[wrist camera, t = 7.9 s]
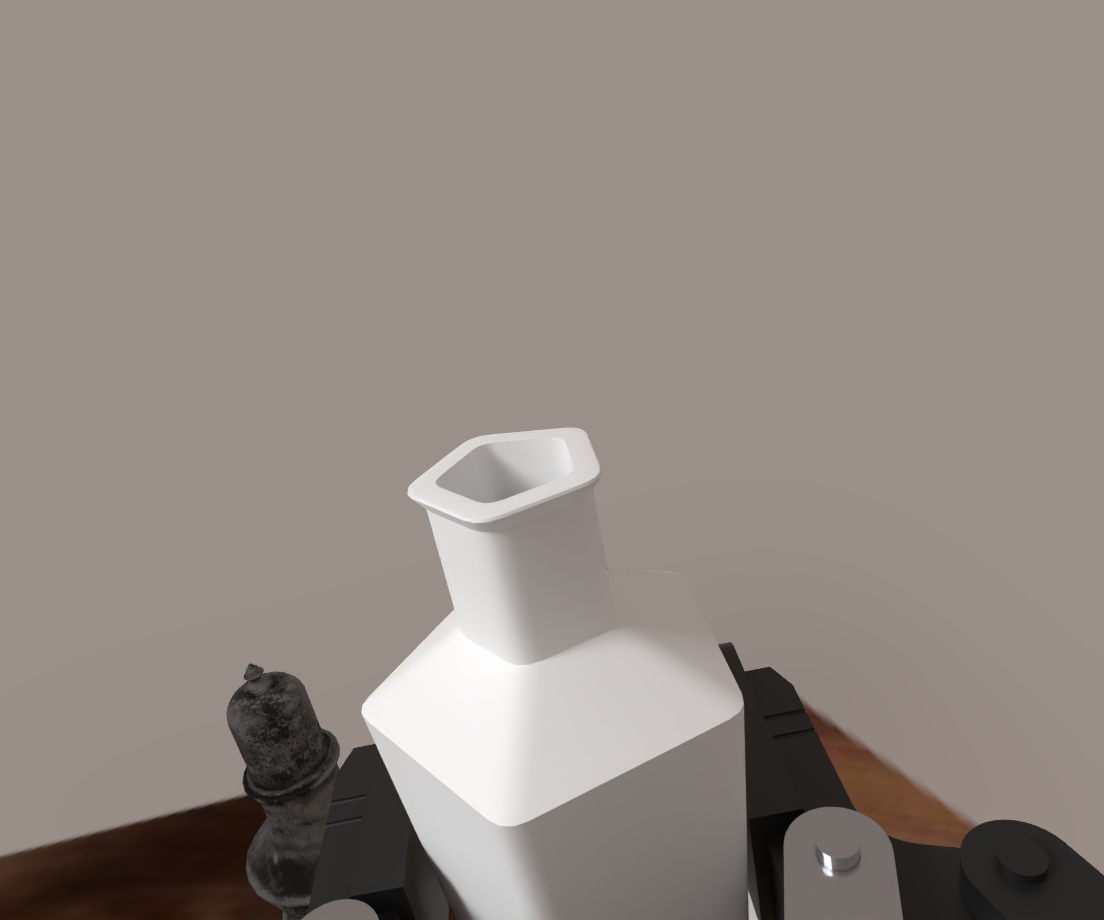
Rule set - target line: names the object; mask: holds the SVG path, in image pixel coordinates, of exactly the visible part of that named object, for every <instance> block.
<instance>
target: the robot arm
mask: <svg viewBox="0 0 1104 920" xmlns="http://www.w3.org/2000/svg"><path fill="white" fill-rule="evenodd" d="M718 646H719V648H720V650H721V652H722V654H723V656H724V658H725V660H726V662H727V664H728V666H729V668H730V670H731V672H732V674H733V676H734V679H735V681H736V683H737V685H738V687H739V689H740V691H741V693H742V697H743V702H744V732H745V775H746V818H747V862H748V891H749V894H750V897H751V900H752V903H753V906H754V910H755V913H756V916H757V919H758V920H1104V876H1103V874H1101V873H1100V872H1099V871H1098V870H1097V869H1095V868H1094V867H1093V866H1092V865H1091V864H1090V863H1088V862H1087V861H1086V860H1085V859H1084V858H1082V857H1081V856H1080V855H1079V854H1078V853H1077V852H1075V851H1074V850H1073V849H1072V848H1071V847H1069V846H1068V845H1067V844H1066V843H1065V842H1063V841H1062V840H1061V839H1059V838H1058V837H1057V836H1055V835H1053V834H1052V833H1050V832H1048V831H1047V830H1044V829H1042V828H1040V827H1038V826H1035V825H1032V824H1029V823H1025V822H1020V821H1015V820H994V821H989V822H985V823H983V824H980V825H978V826H976V827H975V828H973V829H972V830H971V831H970V832H969V833H968V834H967V835H966V836H965V838H964V839H963V841H962V844H961V848H954V847H944V846H933V845H923V844H915V843H909V842H905V841H901V840H898V839H895V838H893V837H890V836H888V835H886V833H885V832H884V830H883V829H882V828H881V827H880V826H879V825H878V824H877V823H875V822H874V821H873V820H871V819H870V818H869V817H867V816H865V815H863V814H861V813H859V812H857V811H856V809H855V808H854V806H853V804H852V803H851V801H850V799H849V797H848V795H847V793H846V791H845V789H844V787H843V785H842V783H841V781H840V779H839V777H838V775H837V773H836V771H835V769H834V767H833V765H832V763H831V761H830V759H829V757H828V755H827V753H826V751H825V749H824V747H823V745H822V743H821V741H820V739H819V737H818V735H817V733H815V730H814V727H813V725H812V723H811V721H810V719H809V717H808V715H807V713H805V709H804V707H803V705H802V703H801V701H800V699H799V697H798V695H797V693H796V691H795V689H794V687H793V685H792V684H791V683H790V682H788V681H787V680H786V679H784V678H783V677H782V676H781V675H780V674H778V673H777V672H776V671H775V670H773V669H772V668H771V667H766V668H761V669H756V670H751V671H746V672H745V671H744V669H743V667H742V664H741V662H740V660H739V658H738V655H737V653H736V650H735V648H734V646H733V644H732V643H731V642H729V643H724V644H719V645H718ZM331 804H332V805H331V806H330V808H329V813H328V817H327V822H326V824H327V828H326V829H325V831H324V836H323V841H322V846H321V850H320V855H319V860H318V864H317V869H316V874H315V879H314V883H313V888H312V893H311V897H310V902H309V907H308V911H307V914H306V916H305V917H304V918H302V919H301V920H448V915H449V903H448V901H447V898H446V896H445V894H444V892H443V890H442V888H441V885H440V883H439V881H438V879H437V877H436V875H435V872H434V870H433V868H432V866H431V864H430V861H429V859H428V857H427V855H426V853H425V851H424V848H423V846H422V844H421V842H420V840H419V838H418V835H417V833H416V831H415V829H414V827H413V824H412V822H411V820H410V818H409V816H408V814H407V811H406V809H405V807H404V805H403V803H402V801H401V798H400V796H399V794H398V792H397V790H396V787H395V785H394V783H393V781H392V779H391V777H390V774H389V772H388V770H387V768H386V766H385V764H384V761H383V759H382V757H381V755H380V753H379V750H378V748H377V746H376V744H373V745H368V746H363V747H357V748H354V749H353V751H352V752H351V753H350V755H349V756H348V758H347V759H346V761H345V762H344V764H343V765H342V767H341V768H340V770H339V771H338V773H337V775H336V780H335V784H334V789H333V794H332V798H331Z"/></svg>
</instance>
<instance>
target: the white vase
mask: <svg viewBox="0 0 1104 920" xmlns="http://www.w3.org/2000/svg"><path fill="white" fill-rule="evenodd" d="M601 475H602V468H601V466H600V463H599V461H598V458H597V456H596V454H595V451H594V448H593V446H592V444H591V441H590V439H589V436H588V435H587V434H586V433H585V432H584V431H583V430H581V429H578V428H559V429H558V428H557V429H546V430H535V431H524V432H513V433H503V434H492V435H485V436H479V437H476V438H473V439H470V440H468V441H466V442H465V443H463V444H462V445H460V446H459V447H457V448H456V449H455V450H454V451H452V452H451V453H450V454H448V455H447V456H446V457H445V458H443V459H442V460H441V461H439V462H438V463H437V464H435V465H434V466H433V467H432V468H431V469H429V470H428V471H426V472H425V473H424V474H423V475H421V476H420V477H419V478H417V479H416V480H415V481H414V482H413V483H412V484H411V485H410V486H409V488H408V496H409V497H410V498H411V499H413V500H414V501H415V502H417V503H418V504H420V505H421V506H423V507H424V508H426V509H427V513H428V516H429V520H430V523H431V527H432V530H433V534H434V538H435V541H436V545H437V548H438V552H439V555H440V559H441V562H442V566H443V570H444V573H445V577H446V580H447V584H448V587H449V591H450V595H451V598H452V602H453V605H454V610H453V611H452V612H451V613H450V614H449V615H448V616H447V617H446V618H445V619H444V620H443V621H442V622H441V623H440V624H439V625H438V626H437V627H436V628H435V629H434V630H433V632H432V633H430V635H429V636H428V637H427V638H426V639H425V640H424V641H423V642H422V643H421V644H420V645H419V646H418V647H417V648H416V649H415V650H414V651H413V652H412V653H411V654H410V655H409V656H408V657H407V658H406V659H405V660H404V661H403V662H402V663H401V664H400V665H399V666H398V667H397V668H396V670H394V671H393V672H392V673H391V675H389V677H388V678H387V679H386V680H385V681H384V682H383V683H382V684H381V685H380V686H379V687H378V688H377V689H376V690H375V691H374V692H373V693H372V694H371V695H370V696H369V697H368V699H367V700H366V701H365V703H364V704H363V705H362V716H363V718H364V720H365V722H366V724H367V727H368V729H369V731H370V733H371V735H372V737H373V740H374V742H375V744H376V746H377V748H378V750H379V753H380V755H381V757H382V759H383V761H384V764H385V766H386V768H387V770H388V772H389V774H390V777H391V779H392V781H393V783H394V785H395V787H396V790H397V792H398V794H399V796H400V798H401V801H402V803H403V805H404V807H405V809H406V811H407V814H408V816H409V818H410V820H411V822H412V824H413V827H414V829H415V831H416V833H417V835H418V838H419V840H420V842H421V844H422V846H423V848H424V851H425V853H426V855H427V857H428V859H429V861H430V864H431V866H432V868H433V870H434V872H435V875H436V877H437V879H438V881H439V883H440V885H441V888H442V890H443V892H444V894H445V896H446V898H447V901H448V903H449V905H450V907H451V909H452V912H453V914H454V916H455V918H456V920H749V905H748V862H747V818H746V775H745V732H744V702H743V697H742V693H741V691H740V689H739V687H738V685H737V683H736V681H735V679H734V676H733V674H732V672H731V670H730V668H729V666H728V664H727V662H726V660H725V658H724V656H723V654H722V652H721V650H720V648H719V646H718V644H717V642H716V640H715V638H714V636H713V634H712V631H711V630H710V627H709V626H708V623H707V621H706V619H705V617H704V615H703V613H702V611H701V609H700V607H699V605H698V603H697V601H696V599H695V597H694V595H693V593H692V590H691V589H690V586H689V584H688V583H687V580H686V579H685V578H684V577H683V575H682V574H680V573H677V572H674V571H641V570H639V571H638V570H635V571H634V570H625V571H624V570H621V571H620V570H617V571H616V570H608V569H607V564H606V559H605V554H604V548H603V542H602V537H601V531H600V526H599V521H598V516H597V510H596V504H595V499H594V493H593V488H594V486H595V485H596V483H597V482H598V481H599V479H600V477H601Z"/></svg>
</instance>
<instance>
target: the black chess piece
mask: <svg viewBox="0 0 1104 920" xmlns="http://www.w3.org/2000/svg"><path fill="white" fill-rule="evenodd" d="M263 671H264V670H263V668H261V667H258V666H257V665H253V664H249V665H248V668H247V669H246V673H245V675H244V679H245V680H247V682H246V683H245V684H243V685H242V686H241V687H240V688H239V689H238V690H237V691H236V692H235V693H234V695H233V696H232V698H231V700H230V703H229V705H228V708H227V721H228V725H229V728H230V730H231V732H232V735H233V737H234V739H235V741H236V743H237V746H238V748H239V750H240V752H241V755H242V757H243V759H244V761H245V763H246V766H247V767H246V770H245V772H244V776H243V786H244V789H245V792H246V793H247V794H248V796H249V797H250V798H251V799H253V800H255V801H257V802H259V803H261V805H262V807H263V809H264V811H265V813H266V816H267V819H266V820H265V822H264V823H263V824H262V826H261V827H260V829H259V830H258V831H257V833H256V834H255V836H254V839H253V841H252V843H251V846H250V848H249V850H248V854H247V862H246V872H247V876H248V881H249V884H250V885H251V887H252V888H253V890H254V891H255V892H256V894H257V895H258V896H259V897H261V898H262V899H264V900H266V901H268V902H269V903H271V904H273V905H274V906H276V907H278V908H279V909H281V910H283V918H282V920H301V919H302V918H304V917H305V916H306V914H307V911H308V907H309V902H310V897H311V893H312V888H313V883H314V879H315V874H316V869H317V864H318V860H319V855H320V850H321V846H322V841H323V836H324V831H325V829H326V828H327V824H326V822H327V817H328V813H329V808H330V806H331V805H332V804H331V798H332V794H333V789H334V784H335V780H336V775H337V773H338V771H339V767H338V765H337V761H338V758H339V750H340V749H339V748H340V747H339V744H338V741H337V739H336V737H335V736H334V735H333V734H332V733H331V732H329V731H327V730H324V729H322V728H321V727H320V725H319V722H318V720H317V718H316V715H315V712H314V710H313V707H312V705H311V702H310V700H309V697H308V695H307V692H306V689H305V687H304V685H303V684H302V683H301V681H300V680H299V679H298V678H296V677H295V676H293V675H290V674H287V673H285V672H270V673H264V674H263Z"/></svg>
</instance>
